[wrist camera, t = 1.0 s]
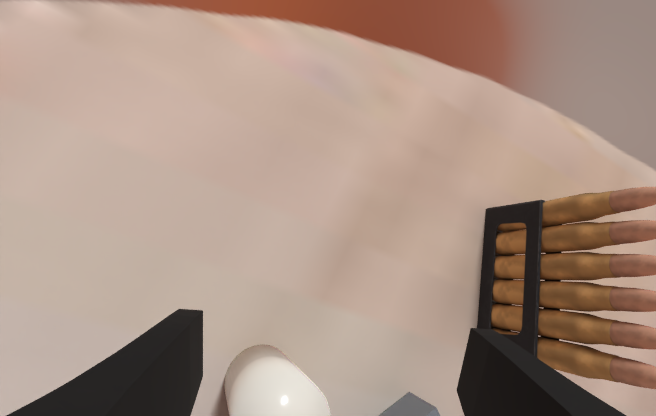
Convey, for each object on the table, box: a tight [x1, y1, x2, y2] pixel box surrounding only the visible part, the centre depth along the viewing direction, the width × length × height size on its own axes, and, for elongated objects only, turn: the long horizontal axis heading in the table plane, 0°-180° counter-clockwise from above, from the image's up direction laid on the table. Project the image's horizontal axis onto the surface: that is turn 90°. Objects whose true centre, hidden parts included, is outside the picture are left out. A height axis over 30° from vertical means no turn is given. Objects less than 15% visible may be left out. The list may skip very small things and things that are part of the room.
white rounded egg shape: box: [224, 345, 331, 416], centre depth 18 cm, size 4×4×7 cm
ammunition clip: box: [477, 187, 656, 389], centre depth 22 cm, size 11×2×12 cm, turn 170°
